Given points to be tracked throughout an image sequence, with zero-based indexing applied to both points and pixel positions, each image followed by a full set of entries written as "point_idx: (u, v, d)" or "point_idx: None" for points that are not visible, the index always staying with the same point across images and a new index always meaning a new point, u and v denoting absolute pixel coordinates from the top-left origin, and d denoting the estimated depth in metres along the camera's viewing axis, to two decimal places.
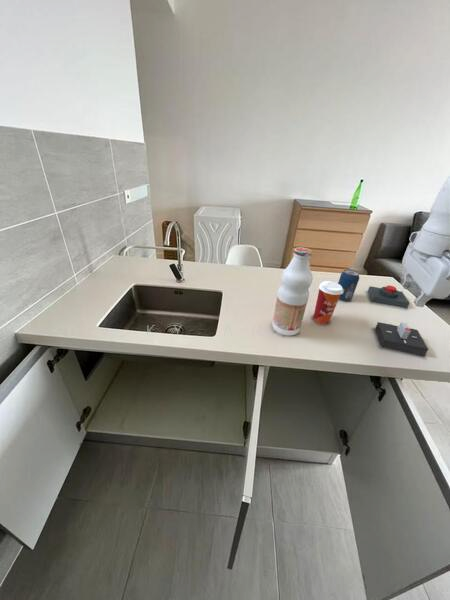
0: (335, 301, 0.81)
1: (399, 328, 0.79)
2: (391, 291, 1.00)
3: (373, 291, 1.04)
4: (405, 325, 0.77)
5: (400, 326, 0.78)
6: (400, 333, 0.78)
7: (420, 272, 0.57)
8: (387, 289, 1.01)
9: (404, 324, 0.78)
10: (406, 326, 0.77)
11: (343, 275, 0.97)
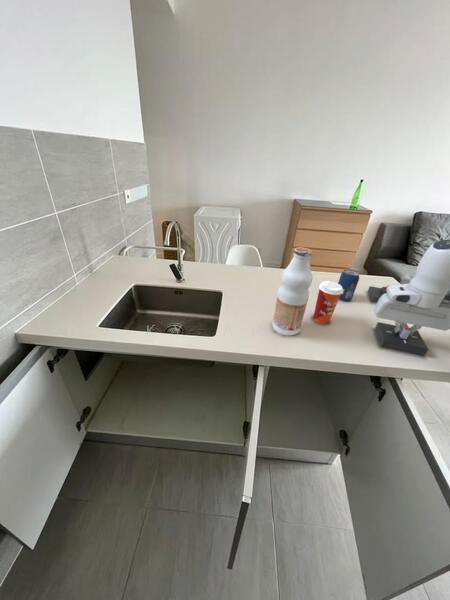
0: (335, 301, 0.81)
1: None
2: None
3: (373, 291, 1.04)
4: (405, 325, 0.77)
5: None
6: (400, 333, 0.78)
7: (423, 318, 0.72)
8: None
9: (404, 324, 0.78)
10: (406, 326, 0.77)
11: (343, 275, 0.97)
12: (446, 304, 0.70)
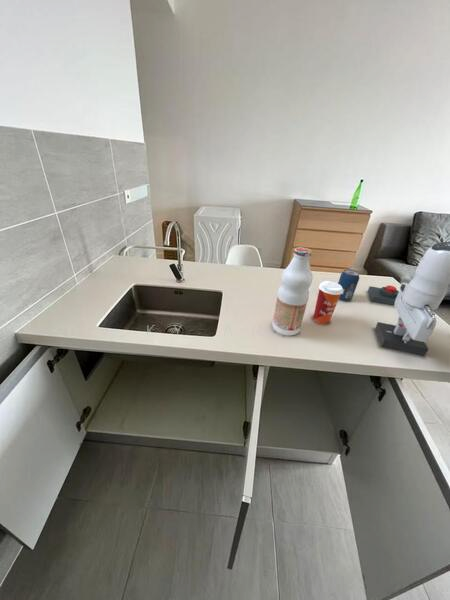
0: (335, 301, 0.81)
1: None
2: (391, 291, 1.00)
3: (373, 291, 1.04)
4: None
5: None
6: None
7: (407, 317, 0.73)
8: (387, 289, 1.01)
9: None
10: None
11: (343, 275, 0.97)
12: (426, 311, 0.67)
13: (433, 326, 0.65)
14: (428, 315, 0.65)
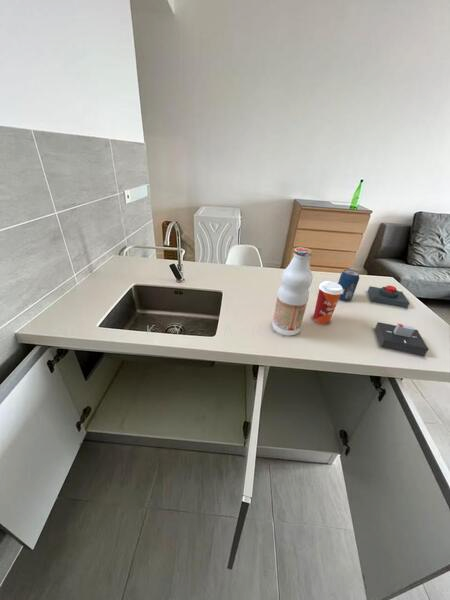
0: (335, 301, 0.81)
1: None
2: (391, 291, 1.00)
3: (373, 291, 1.04)
4: (407, 327, 0.76)
5: None
6: None
7: None
8: (387, 289, 1.01)
9: (410, 327, 0.76)
10: (406, 327, 0.76)
11: (343, 275, 0.97)
12: None
13: None
14: None
